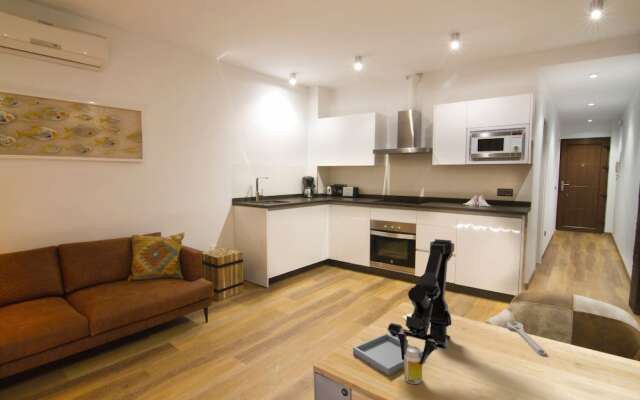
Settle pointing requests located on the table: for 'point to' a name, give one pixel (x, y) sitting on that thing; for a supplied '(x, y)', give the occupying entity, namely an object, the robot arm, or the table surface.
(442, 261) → the robot arm
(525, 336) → the adjustable wrench
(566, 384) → the table surface
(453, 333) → the table surface
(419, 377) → the supplement bottle
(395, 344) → the tray
